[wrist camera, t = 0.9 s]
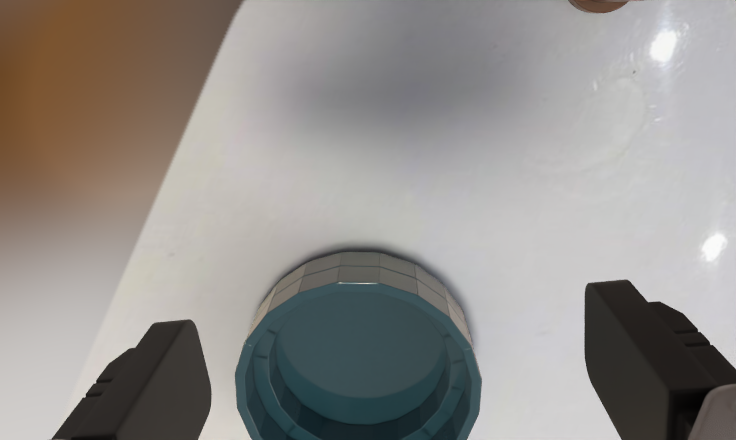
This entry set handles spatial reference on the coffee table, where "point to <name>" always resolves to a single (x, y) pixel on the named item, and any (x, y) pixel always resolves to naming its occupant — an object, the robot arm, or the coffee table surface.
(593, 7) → the rod
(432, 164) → the coffee table surface
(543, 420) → the coffee table surface
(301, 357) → the bowl
